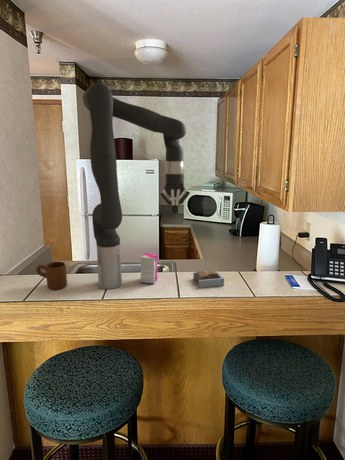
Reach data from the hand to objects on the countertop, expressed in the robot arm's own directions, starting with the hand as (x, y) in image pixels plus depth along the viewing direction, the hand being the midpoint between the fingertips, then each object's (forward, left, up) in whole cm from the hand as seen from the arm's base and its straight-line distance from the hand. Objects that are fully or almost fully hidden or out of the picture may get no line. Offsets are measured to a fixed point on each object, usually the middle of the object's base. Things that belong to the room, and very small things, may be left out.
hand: (174, 213), depth 139 cm
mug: (-51, -3, -27) cm, 58 cm away
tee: (+12, -11, -27) cm, 32 cm away
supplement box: (-12, -6, -27) cm, 30 cm away
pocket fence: (+12, -12, -27) cm, 32 cm away
